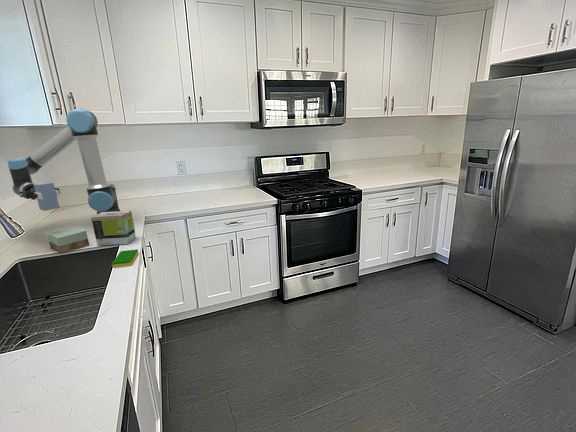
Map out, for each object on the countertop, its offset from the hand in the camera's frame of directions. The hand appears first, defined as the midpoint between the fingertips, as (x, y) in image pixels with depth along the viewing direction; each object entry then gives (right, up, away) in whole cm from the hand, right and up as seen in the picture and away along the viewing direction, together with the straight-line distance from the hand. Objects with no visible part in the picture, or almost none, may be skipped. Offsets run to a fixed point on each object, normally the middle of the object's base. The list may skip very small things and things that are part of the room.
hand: (50, 194), depth 145 cm
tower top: (+4, -21, +7) cm, 23 cm away
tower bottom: (+4, -25, +8) cm, 27 cm away
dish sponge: (+40, -29, -10) cm, 50 cm away
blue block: (-4, -6, +5) cm, 8 cm away
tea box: (+24, -23, +13) cm, 35 cm away
